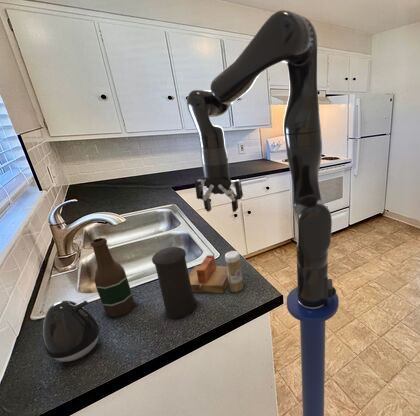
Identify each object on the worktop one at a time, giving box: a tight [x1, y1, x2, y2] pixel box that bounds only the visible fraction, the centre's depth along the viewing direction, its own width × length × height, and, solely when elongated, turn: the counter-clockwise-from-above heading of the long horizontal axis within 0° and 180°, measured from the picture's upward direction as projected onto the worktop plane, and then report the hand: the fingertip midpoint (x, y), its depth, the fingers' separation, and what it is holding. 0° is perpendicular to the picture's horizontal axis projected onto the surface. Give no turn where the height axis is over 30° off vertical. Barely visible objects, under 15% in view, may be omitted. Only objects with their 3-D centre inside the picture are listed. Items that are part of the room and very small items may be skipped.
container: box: [151, 246, 196, 319], centre depth 79 cm, size 9×9×20 cm
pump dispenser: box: [42, 299, 101, 363], centre depth 66 cm, size 10×10×15 cm
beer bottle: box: [90, 237, 135, 318], centre depth 78 cm, size 8×8×24 cm
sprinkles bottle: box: [224, 250, 244, 293], centre depth 89 cm, size 5×5×14 cm
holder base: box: [188, 265, 229, 294], centre depth 94 cm, size 14×13×3 cm
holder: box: [196, 254, 217, 283], centre depth 92 cm, size 9×3×5 cm, turn 178°
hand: (222, 210), depth 87 cm, fingers open, 8 cm apart
